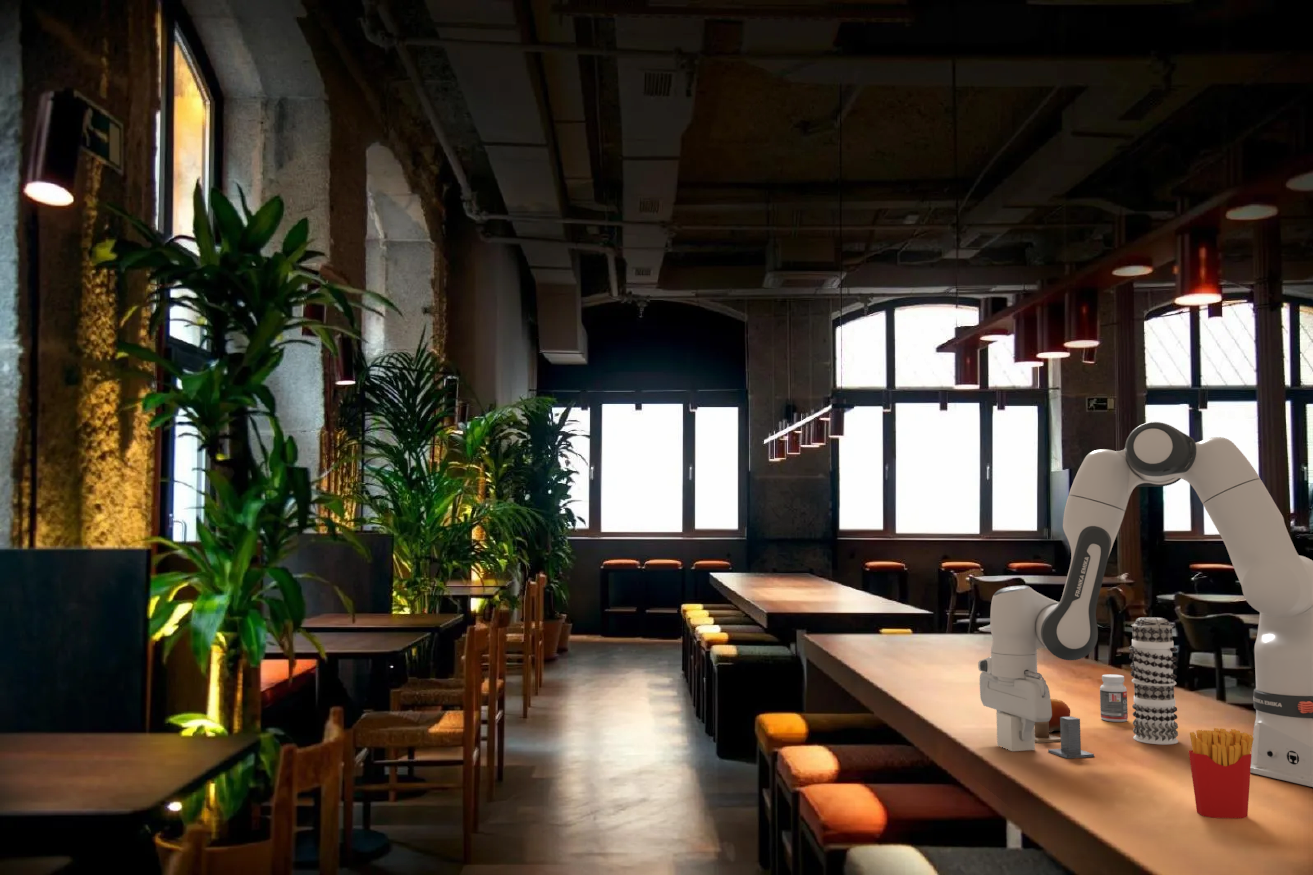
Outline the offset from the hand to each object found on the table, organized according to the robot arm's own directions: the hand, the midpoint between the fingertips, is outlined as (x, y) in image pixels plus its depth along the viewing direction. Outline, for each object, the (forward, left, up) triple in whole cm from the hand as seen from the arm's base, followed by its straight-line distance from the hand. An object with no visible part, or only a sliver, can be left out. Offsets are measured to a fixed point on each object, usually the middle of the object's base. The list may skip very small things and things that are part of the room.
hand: (1015, 736), depth 220 cm
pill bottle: (+20, -38, -2) cm, 43 cm away
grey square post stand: (-8, -7, -2) cm, 11 cm away
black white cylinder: (-1, -32, -2) cm, 32 cm away
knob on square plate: (+6, -10, -2) cm, 12 cm away
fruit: (+13, -17, -2) cm, 22 cm away
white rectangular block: (0, 0, -2) cm, 2 cm away
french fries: (-51, -4, -2) cm, 51 cm away
